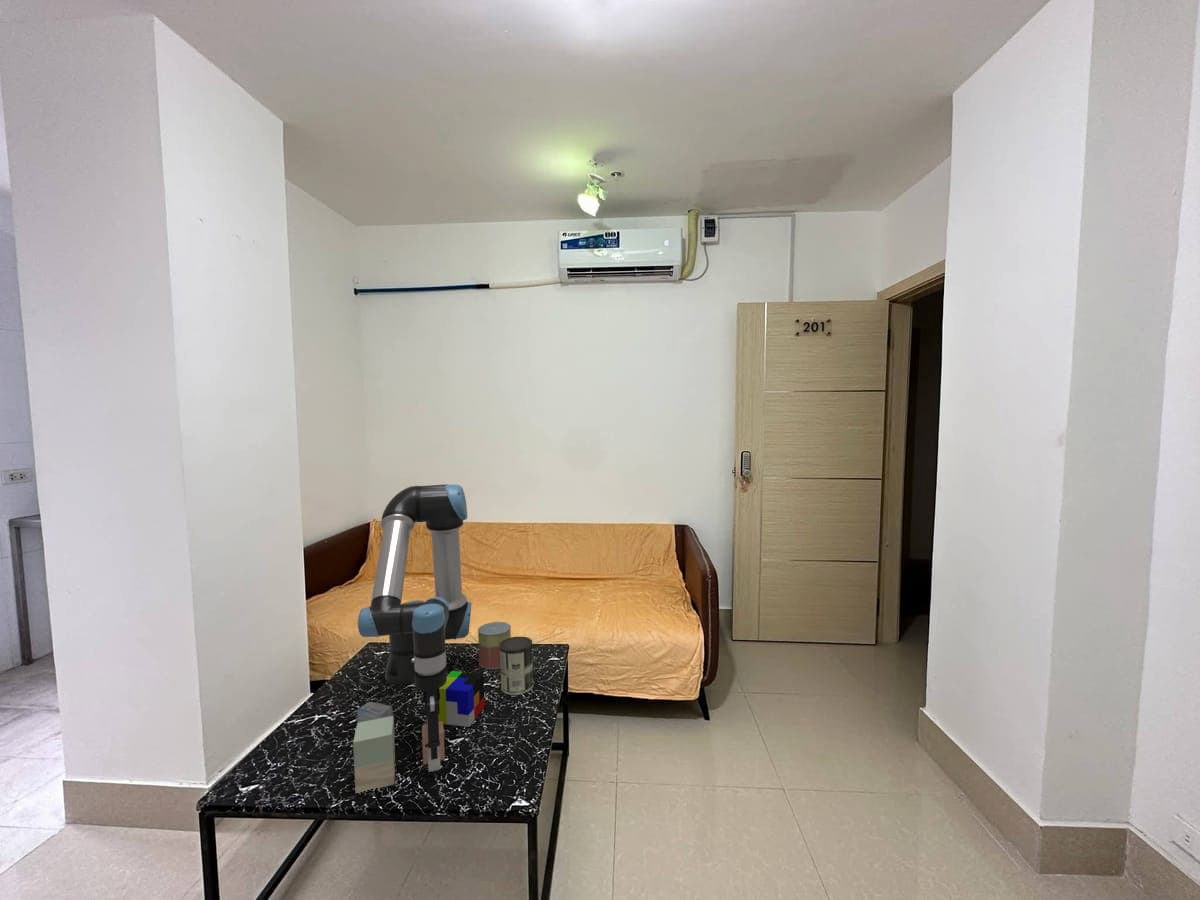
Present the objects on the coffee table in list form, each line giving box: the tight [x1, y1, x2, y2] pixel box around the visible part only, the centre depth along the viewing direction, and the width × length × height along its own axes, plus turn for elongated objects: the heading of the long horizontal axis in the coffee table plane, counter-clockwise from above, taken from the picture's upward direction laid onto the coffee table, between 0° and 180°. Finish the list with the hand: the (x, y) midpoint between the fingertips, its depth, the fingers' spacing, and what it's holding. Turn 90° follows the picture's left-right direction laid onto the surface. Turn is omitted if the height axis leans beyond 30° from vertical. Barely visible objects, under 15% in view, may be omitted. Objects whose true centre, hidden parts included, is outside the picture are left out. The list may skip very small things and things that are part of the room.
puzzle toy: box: [438, 670, 486, 728], centre depth 141 cm, size 10×10×10 cm
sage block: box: [352, 715, 396, 769], centre depth 116 cm, size 8×8×6 cm
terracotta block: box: [421, 721, 446, 766], centre depth 123 cm, size 5×5×7 cm
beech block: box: [354, 744, 396, 794], centre depth 116 cm, size 8×8×6 cm
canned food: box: [477, 621, 512, 670], centre depth 173 cm, size 11×11×12 cm
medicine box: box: [356, 701, 394, 723], centre depth 130 cm, size 8×4×9 cm, turn 71°
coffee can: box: [499, 636, 535, 696], centre depth 156 cm, size 10×10×14 cm
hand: (433, 755), depth 123 cm, fingers open, 11 cm apart
